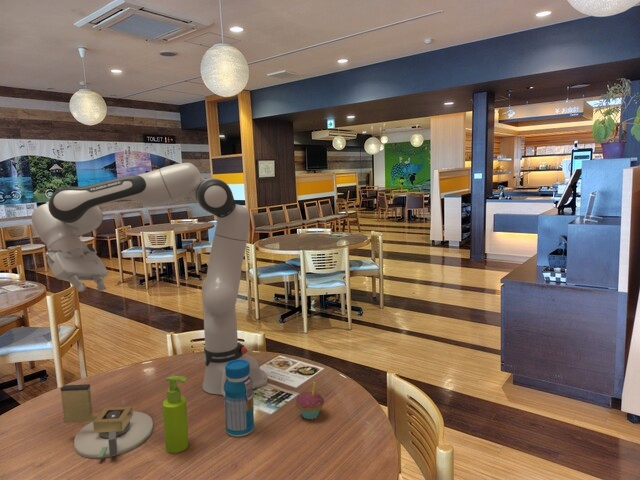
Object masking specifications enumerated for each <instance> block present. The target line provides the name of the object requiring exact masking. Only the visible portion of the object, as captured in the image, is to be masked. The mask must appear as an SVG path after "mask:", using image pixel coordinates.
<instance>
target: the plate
mask: <svg viewBox="0 0 640 480" xmlns="http://www.w3.org/2000/svg"><path fill="white" fill-rule="evenodd" d="M132 411H133V410H132ZM153 430H154V423H153V419H152V418H151V416H149V415H148V414H146V413H144V412H141V411H133V417H132V418H131V420H130V429H129V431H128V432H127V433H126V434H124V435H122V436H120V437H117V438H116V430H115V431H110V432H109V439H103V438H101V437H100V436H99V433H94V426H93V422H88V424H86V425H85V426H83V427H81V429H80V430H79V431H78V432H77V434H76V435H75V437H74V440H73V444H74V450H75V452H76V453H77V454H78V455H79V456H80V457H84V458H87V459H106V458H107V459H108V458H112V457H116V456H120V455H122V454H125V453H128V452H130V451H133V450H134V449H136V448H137V447H139V446H140V445H142V444H143V443H145V442H146V441H147V440H148V439H149V437H151V435H152V433H153Z"/></svg>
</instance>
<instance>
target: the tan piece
mask: <svg viewBox="0 0 640 480" xmlns="http://www.w3.org/2000/svg"><path fill="white" fill-rule="evenodd" d="M60 394H61V402H62V403H61V404H62V413H63V418H62V420H63V424H71V423H72V424H74V423H76V424H77V423H91V422H93V426H94V433H99V432H110V431H115V430H116V432H119V431H123V430H124V429H125V427H126V426H127V424H128V423H129V421H130V420H131V418H132V417H133V406H130V405H129V406H113V407H112V406H111V407H104V408H103V410H101V412H99V413H93V405H92V394H91V384H90V383H86V384H85V383H84V384H65V385H63V386H61V387H60ZM112 411H120V414H121V415H120V417H119V418H116V419H106V415H107V414H108V413H109V412H112Z"/></svg>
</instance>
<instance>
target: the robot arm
mask: <svg viewBox="0 0 640 480" xmlns="http://www.w3.org/2000/svg"><path fill="white" fill-rule="evenodd" d="M185 198H193V199H195V200H196V201H197V203H198V205H199V206H200V208H202V209H203V210H204V211H206V212H208V213H210V214H212V215H214V216H215V217H216V226H215V229H214V230H215V231H214V235H213V239H212V244H211V247H210V248H211V249H210V253H209V258H208V259H209V260H208V266H207V271H206V276H205V277H206V278H204V280H203V281H202V286H201V294H202V312H203V313H202V314H203V330H204V331H203V333H204V347H203V348H204V349H203V360H204V365H205V369H204V376H203V377H204V379H203V382H202V387H201V388H202V390H203V391H204V392H206V393H208V394H210V395H211V394H212V395H220V396H223V397H224V393H225V391H224V384H225V381H226V379H227V377H226V372H225V366H226V364H227V363H228V362H229V361H232V360H236V359H243V360H247V361H248V362H249V365H250V373H249V377H250V379H251V380H252V383H253V388H252V390H255V389H257V388H260V387H263V386H266V385H267V384H268V382H269V381H268V375H267V374H266V373H265V371H264V370H263V369H262V368H261V366H260V364H259V362H258V361H257V360H256V359H255V358H254V357H253V356H251V355H249V354H247V353H248V349H247V347H245V346H244V345H243V343H241V342H239V340H238V319H237V311H236V310H237V309H236V304H237V301H238V294H239V289H240V284H241V283H240V282H241V277H242V276H241V275H242V267H243V262H244V257H245V251H246V248H247V243H248V239H249V238H248V237H249V234H250V233H249V232H250V222H251V221H250V220H251V218H250V212H249V210H248V209H247V208H246V207H245V206H243V205H241V204H237V203H236V201H235V198H234V194H233V192H232V190H231V188H230V185H229V184H227V182H225V181H223V180H221V179H218V178H208V177H207V178H206V177H203V175H201V171H200V170H199V169H198V167H197V166H195V165H194V163H191V162H182V163H175V164H172V165H171V164H170V165H168V166H163V167H161V168H158V169H154V170H151V171H148V172H144V173H140V174H131V175H126V176H122V177H117V178H116V177H115V178H113V179H109V180H104V181H100V182H97V183H93V184H88V185H85V186H84V185H83V186H64V187H61V188H58V189H57V190H56V191H55V192H53V193H52V195H51V196H50V198H49V201H48V203H44V204H41V205H39V206H38V207H37V208H36V209H34V210H33V212H32V214H31V222H32V226H33V228H34V230H35V231H36V234H37V235H38V237H39V238H40V240H41V241H42V242H43V243H44V244H45V246H46V249H47V250H46V252H45V256H46V257H47V264H48V266H49V269H50V271H51V273H52V275H53V276H54V277H55V278H56V279H57V280H60V281H63V280H64V281H68V283H69V284H71V285H72V286H73V287H75V289H76V290H77V291H78V292H84V291H85V290H87V286H86V284H85V283H84V282H81V281H91V282H92V281H93V282H94V283H95V284H96V285H97V286H96V289H97V291H99V292H104V291H105V290H106V289H107V287H106V285H105V283H104V279H105V278H106V277H107V276H108V272H109V271H108V270H107V268H106V266H105V265H104V263H103V261H102V259H101V258H100V257H99V255H97V253H98V252H97V249H96V248H95V247H93V246H91V245H88V244H87V243H85V242H84V241H83V240H81V238H80V237H83V236H85V235H87V234H89V233H91V232H94V231H95V230H97V229H98V228H99V227H101V225H102V223H103V221H104V220H103V219H104V214H103V211H102V209H101V208H100V206H104V205H107V204H108V205H109V204H110V203H114V202H117V201H118V202H119V201H123V200H124V201H126V200H127V201H128V200H129V201H134V202H138V203H140V204H143V205H146V206H148V207H153V208H154V207H159V206H164V205H168V204H171V203H174V202H176V201H180V200H182V199H185Z"/></svg>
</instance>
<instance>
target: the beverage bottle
mask: <svg viewBox="0 0 640 480" xmlns="http://www.w3.org/2000/svg"><path fill="white" fill-rule="evenodd" d="M225 372H226V377H227V379H226V381H225V384H224V391H225V393H224V396H223V404H224V417H225V418H224V419H225V432H226V433H227V434H228V436H231V437H236V438H237V437H243V436H247V435H249V434H250V433H252V432H253V431H254V428H255V413H254V412H255V411H254V407H255V406H254V389H252V388H253V383H252V380H251V379H250V377H249V373H250V365H249V362H248V361H247V360H243V359H236V360H232V361H229V362H228V363H227V364H226V366H225Z"/></svg>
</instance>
